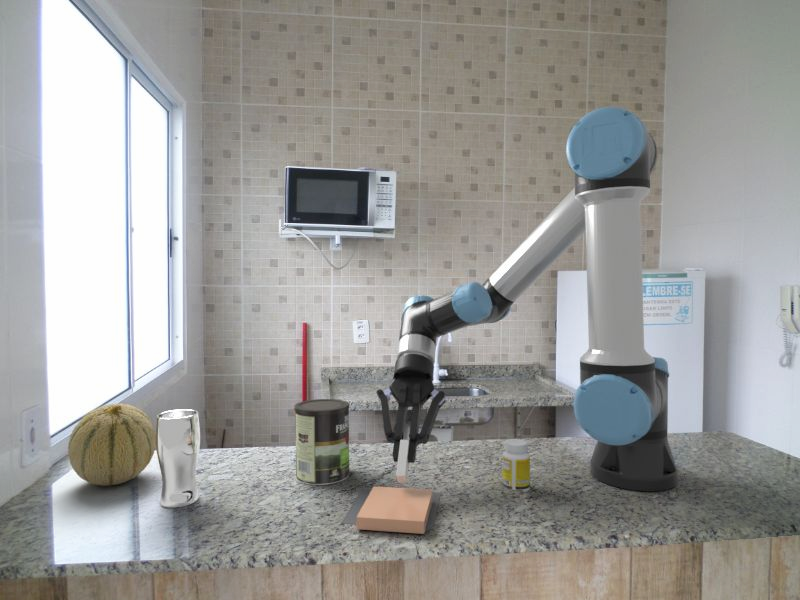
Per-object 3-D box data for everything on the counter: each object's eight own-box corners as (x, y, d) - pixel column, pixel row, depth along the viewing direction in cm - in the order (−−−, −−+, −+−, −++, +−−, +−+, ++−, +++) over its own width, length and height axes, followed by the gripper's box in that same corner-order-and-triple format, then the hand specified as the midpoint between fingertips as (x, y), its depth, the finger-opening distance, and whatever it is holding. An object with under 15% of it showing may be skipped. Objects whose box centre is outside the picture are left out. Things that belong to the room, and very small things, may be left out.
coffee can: (356, 470, 107) (355, 399, 106) (340, 490, 97) (339, 411, 96) (307, 466, 109) (306, 397, 108) (286, 486, 99) (285, 409, 98)
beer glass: (209, 495, 94) (208, 410, 94) (181, 511, 88) (179, 420, 87) (177, 490, 97) (175, 407, 96) (147, 506, 90) (145, 417, 90)
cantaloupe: (123, 464, 111) (121, 392, 110) (174, 475, 104) (172, 398, 104) (49, 489, 98) (47, 407, 97) (103, 504, 91) (100, 416, 91)
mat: (441, 496, 94) (441, 492, 94) (432, 533, 80) (432, 529, 80) (362, 491, 96) (362, 488, 96) (340, 527, 82) (340, 523, 82)
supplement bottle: (532, 485, 98) (532, 439, 98) (526, 495, 94) (526, 447, 93) (506, 481, 100) (506, 436, 100) (499, 490, 96) (499, 444, 95)
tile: (432, 489, 90) (424, 521, 78) (432, 502, 90) (424, 535, 78) (373, 486, 91) (356, 517, 79) (373, 498, 91) (356, 530, 79)
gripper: (449, 375, 107) (442, 491, 91) (384, 374, 109) (366, 487, 93) (447, 352, 101) (439, 471, 85) (379, 351, 103) (358, 467, 88)
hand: (401, 479), depth 89 cm, fingers closed
